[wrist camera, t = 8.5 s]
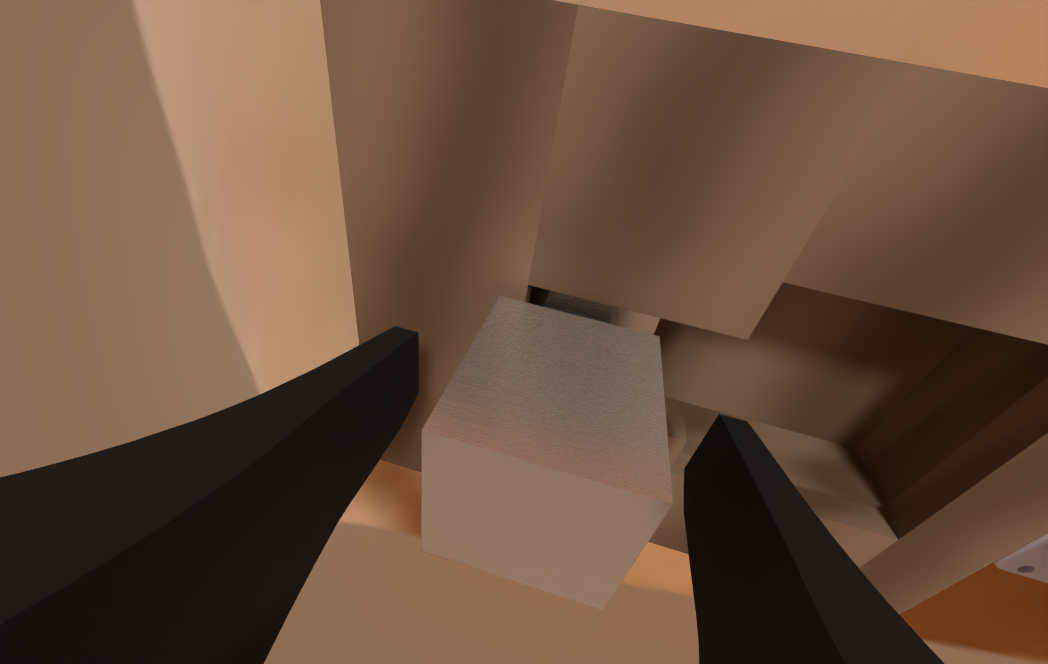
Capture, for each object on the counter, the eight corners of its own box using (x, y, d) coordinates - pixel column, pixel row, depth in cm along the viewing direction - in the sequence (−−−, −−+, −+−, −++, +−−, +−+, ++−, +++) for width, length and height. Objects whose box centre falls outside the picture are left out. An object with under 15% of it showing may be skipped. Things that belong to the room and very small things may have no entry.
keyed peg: (675, 257, 12) (721, 494, 6) (627, 376, 15) (619, 626, 9) (519, 221, 13) (391, 399, 6) (501, 342, 16) (400, 554, 9)
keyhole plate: (1253, 141, 9) (1649, 195, 6) (843, 506, 18) (894, 617, 14) (419, -10, 11) (315, -43, 7) (419, 385, 20) (372, 456, 16)
